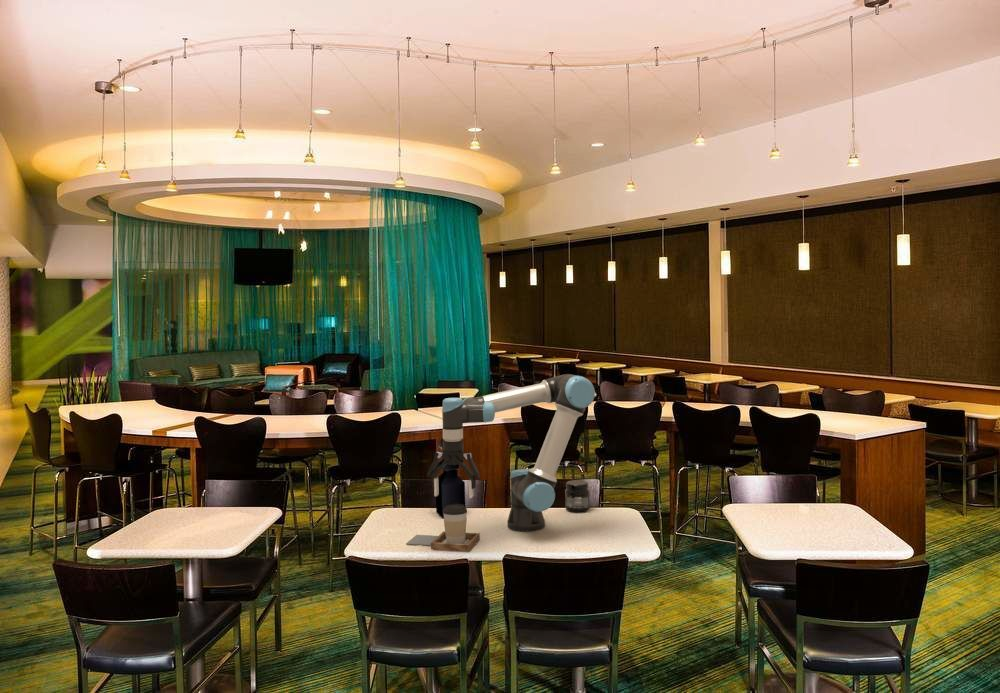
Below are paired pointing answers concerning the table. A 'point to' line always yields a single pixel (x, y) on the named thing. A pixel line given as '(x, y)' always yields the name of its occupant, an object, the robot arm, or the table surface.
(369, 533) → the table surface
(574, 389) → the robot arm
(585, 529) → the table surface
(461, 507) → the coffee cup
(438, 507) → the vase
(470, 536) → the wooden square frame
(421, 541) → the mat
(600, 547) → the table surface
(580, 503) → the supplement container
